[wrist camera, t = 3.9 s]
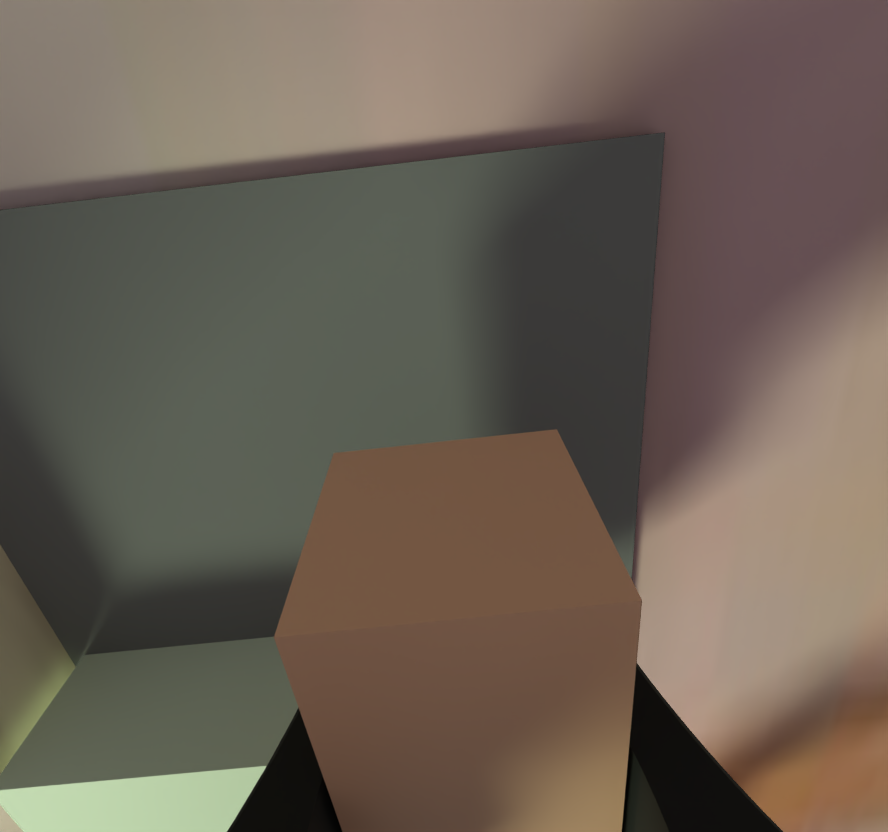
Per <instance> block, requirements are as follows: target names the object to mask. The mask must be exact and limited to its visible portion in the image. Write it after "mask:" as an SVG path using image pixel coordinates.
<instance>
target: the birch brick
mask: <svg viewBox="0 0 888 832" xmlns="http://www.w3.org/2000/svg"><path fill="white" fill-rule="evenodd" d="M74 669H75V665H74V663H73V662H72V660H71V658H70V657H69V655H68V654H67V652H66V650H65V649H64V647H63V645H62V644H61V642H60V641H59V639H58V637H57V636H56V634H55V633H54V631H53V629H52V628H51V626H50V624H49V623H48V621H47V620H46V618H45V616H44V615H43V613H42V611H41V610H40V608H39V607H38V605H37V603H36V602H35V600H34V598H33V597H32V595H31V594H30V592H29V590H28V589H27V587H26V586H25V584H24V582H23V581H22V579H21V577H20V576H19V574H18V573H17V571H16V569H15V568H14V566H13V564H12V563H11V561H10V560H9V558H8V556H7V555H6V553H5V551H4V550H3V548H2V547H1V545H0V774H1V773H2V771H3V770H4V768H5V767H6V765H7V764H8V763H9V761H10V760H11V758H12V757H13V755H14V754H15V753H16V751H17V750H18V748H19V747H20V746H21V744H22V743H23V741H24V740H25V738H26V737H27V736H28V734H29V733H30V731H31V730H32V728H33V727H34V726H35V724H36V723H37V721H38V720H39V719H40V717H41V716H42V714H43V713H44V711H45V710H46V709H47V707H48V706H49V704H50V703H51V702H52V700H53V699H54V697H55V696H56V694H57V693H58V692H59V690H60V689H61V687H62V686H63V684H64V683H65V682H66V680H67V679H68V677H69V676H70V675H71V673H72V672H73V670H74Z"/></svg>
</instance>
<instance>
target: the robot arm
mask: <svg viewBox="0 0 888 832" xmlns="http://www.w3.org/2000/svg"><path fill="white" fill-rule="evenodd" d="M227 832H342V829H341V826H340V823H339V820H338V818H337V815H336V812H335V809H334V806H333V804H332V801H331V798H330V795H329V792H328V789H327V787H326V784H325V781H324V778H323V775H322V772H321V770H320V767H319V764H318V761H317V758H316V755H315V753H314V750H313V747H312V744H311V741H310V738H309V736H308V733H307V730H306V727H305V724H304V721H303V719H302V716H301V713H300V710H299V707H298V709H297V711H296V713H295V715H294V717H293V719H292V721H291V723H290V724H289V726H288V728H287V730H286V732H285V734H284V735H283V737H282V739H281V741H280V743H279V745H278V747H277V748H276V750H275V752H274V754H273V756H272V757H271V759H270V761H269V763H268V765H267V766H266V768H265V770H264V771H263V773H262V775H261V776H260V778H259V780H258V781H257V783H256V785H255V786H254V788H253V790H252V791H251V793H250V795H249V796H248V798H247V800H246V801H245V803H244V805H243V806H242V808H241V810H240V811H239V813H238V815H237V816H236V818H235V820H234V821H233V823H232V824H231V826H230V827H229V829H228V831H227ZM622 832H783V831H782V830H781V829H780V828H779V827H778V826H777V825H776V824H775V823H774V822H773V821H772V820H771V819H770V818H769V817H768V816H767V815H766V814H765V813H764V812H763V811H762V810H761V809H760V808H759V806H758V805H757V804H756V803H755V802H754V801H753V800H752V799H751V798H750V797H749V796H748V795H747V794H746V793H745V792H744V791H743V789H742V788H741V787H740V786H739V785H738V784H737V783H736V782H735V781H734V780H733V779H732V778H731V776H730V775H729V774H728V773H727V772H726V771H725V770H724V769H723V767H722V766H721V765H720V764H719V763H718V762H717V761H716V760H715V758H714V757H713V756H712V755H711V754H710V753H709V752H708V751H707V750H706V748H705V747H704V746H703V745H702V744H701V743H700V741H699V740H698V739H697V738H696V737H695V736H694V734H693V733H692V732H691V731H690V730H689V728H688V727H687V726H686V725H685V724H684V722H683V721H682V720H681V719H680V717H679V716H678V715H677V714H676V713H675V711H674V710H673V709H672V708H671V706H670V705H669V704H668V703H667V702H666V700H665V699H664V698H663V697H662V695H661V694H660V693H659V692H658V690H657V689H656V688H655V686H654V685H653V684H652V683H651V681H650V680H649V679H648V677H647V676H646V675H645V673H644V672H643V671H642V669H641V668H640V667H639V665H638V664H637V663H636V674H635V686H634V697H633V708H632V720H631V731H630V743H629V754H628V765H627V777H626V788H625V799H624V811H623V822H622Z"/></svg>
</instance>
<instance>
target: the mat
mask: <svg viewBox="0 0 888 832" xmlns="http://www.w3.org/2000/svg"><path fill="white" fill-rule="evenodd" d="M664 138H665V132H664V133H656V134H647V135H639V136H630V137H622V138H613V139H604V140H596V141H587V142H579V143H570V144H562V145H553V146H544V147H536V148H527V149H519V150H510V151H502V152H493V153H485V154H476V155H467V156H459V157H450V158H442V159H433V160H425V161H416V162H407V163H399V164H390V165H382V166H373V167H365V168H356V169H347V170H339V171H330V172H322V173H313V174H305V175H296V176H287V177H279V178H270V179H262V180H253V181H245V182H236V183H227V184H219V185H210V186H202V187H193V188H185V189H176V190H167V191H159V192H150V193H142V194H133V195H125V196H116V197H107V198H99V199H90V200H82V201H73V202H65V203H56V204H47V205H39V206H30V207H22V208H13V209H5V210H0V545H1V547H2V548H3V550H4V551H5V553H6V555H7V556H8V558H9V560H10V561H11V563H12V564H13V566H14V568H15V569H16V571H17V573H18V574H19V576H20V577H21V579H22V581H23V582H24V584H25V586H26V587H27V589H28V590H29V592H30V594H31V595H32V597H33V598H34V600H35V602H36V603H37V605H38V607H39V608H40V610H41V611H42V613H43V615H44V616H45V618H46V620H47V621H48V623H49V624H50V626H51V628H52V629H53V631H54V633H55V634H56V636H57V637H58V639H59V641H60V642H61V644H62V645H63V647H64V649H65V650H66V652H67V654H68V655H69V657H70V658H71V660H72V662H73V663H74V665H75V668H76V666H77V665H78V664H79V662H80V661H81V659H82V658H83V656H84V655H90V654H100V653H110V652H121V651H131V650H141V649H152V648H162V647H172V646H183V645H193V644H203V643H213V642H224V641H234V640H244V639H255V638H265V637H274V635H275V632H276V629H277V626H278V623H279V620H280V617H281V614H282V611H283V608H284V605H285V601H286V598H287V595H288V592H289V589H290V586H291V583H292V580H293V577H294V574H295V571H296V568H297V565H298V561H299V558H300V555H301V552H302V549H303V546H304V543H305V540H306V537H307V534H308V531H309V528H310V524H311V521H312V518H313V515H314V512H315V509H316V506H317V503H318V500H319V497H320V494H321V491H322V487H323V484H324V481H325V478H326V475H327V472H328V469H329V466H330V463H331V460H332V457H333V454H334V453H339V452H348V451H358V450H367V449H376V448H386V447H395V446H405V445H414V444H423V443H433V442H442V441H451V440H461V439H470V438H480V437H489V436H498V435H508V434H517V433H526V432H536V431H545V430H555V429H557V431H558V433H559V435H560V437H561V439H562V441H563V443H564V445H565V447H566V449H567V451H568V453H569V455H570V457H571V459H572V461H573V463H574V465H575V467H576V469H577V471H578V473H579V475H580V477H581V479H582V481H583V483H584V485H585V487H586V489H587V491H588V493H589V495H590V497H591V499H592V501H593V503H594V505H595V507H596V509H597V511H598V513H599V515H600V517H601V519H602V521H603V523H604V525H605V527H606V529H607V531H608V533H609V535H610V537H611V539H612V541H613V543H614V545H615V547H616V549H617V551H618V553H619V555H620V557H621V559H622V561H623V563H624V565H625V567H626V569H627V571H628V573H629V575H630V577H631V579H632V566H633V553H634V539H635V526H636V512H637V499H638V486H639V472H640V459H641V445H642V432H643V419H644V405H645V392H646V379H647V365H648V352H649V338H650V325H651V312H652V298H653V285H654V271H655V258H656V245H657V231H658V218H659V205H660V191H661V178H662V164H663V151H664ZM73 671H74V670H73ZM68 678H69V677H68ZM66 681H67V680H66ZM63 685H64V684H63ZM61 688H62V687H61ZM59 691H60V690H59ZM56 695H57V694H56ZM54 698H55V697H54ZM49 705H50V704H49ZM47 708H48V707H47ZM44 712H45V711H44ZM42 715H43V714H42ZM40 718H41V717H40ZM37 722H38V721H37ZM35 725H36V724H35ZM32 729H33V728H32ZM30 732H31V731H30ZM28 735H29V734H28ZM25 739H26V738H25ZM23 742H24V741H23ZM21 745H22V744H21ZM18 749H19V748H18ZM16 752H17V751H16ZM13 756H14V755H13ZM11 759H12V758H11ZM9 762H10V761H9Z"/></svg>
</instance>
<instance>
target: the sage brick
mask: <svg viewBox="0 0 888 832" xmlns="http://www.w3.org/2000/svg"><path fill="white" fill-rule="evenodd" d="M297 709H298V705H297V702H296V699H295V696H294V693H293V690H292V688H291V685H290V682H289V679H288V676H287V673H286V671H285V668H284V665H283V662H282V659H281V656H280V654H279V651H278V648H277V645H276V642H275V639H274V637H265V638H255V639H244V640H234V641H224V642H213V643H203V644H193V645H183V646H172V647H162V648H152V649H141V650H131V651H121V652H110V653H100V654H90V655H84V656H83V658H82V659H81V661H80V662H79V664H78V665H77V666H76V668H75V669H74V671H73V672H72V673H71V675H70V676H69V678H68V679H67V681H66V682H65V683H64V685H63V686H62V688H61V689H60V691H59V692H58V693H57V695H56V696H55V698H54V699H53V700H52V702H51V703H50V705H49V706H48V708H47V709H46V710H45V712H44V713H43V715H42V716H41V718H40V719H39V720H38V722H37V723H36V725H35V726H34V727H33V729H32V730H31V732H30V733H29V735H28V736H27V737H26V739H25V740H24V742H23V743H22V745H21V746H20V747H19V749H18V750H17V752H16V753H15V754H14V756H13V757H12V759H11V760H10V762H9V763H8V764H7V766H6V767H5V769H4V770H3V772H2V773H1V774H0V805H1V806H2V807H3V809H4V810H5V811H6V812H7V813H8V814H9V815H10V817H11V818H12V819H13V820H14V821H15V822H16V824H17V825H18V826H19V827H20V828H21V829H22V831H23V832H227V831H228V829H229V827H230V826H231V824H232V823H233V821H234V820H235V818H236V816H237V815H238V813H239V811H240V810H241V808H242V806H243V805H244V803H245V801H246V800H247V798H248V796H249V795H250V793H251V791H252V790H253V788H254V786H255V785H256V783H257V781H258V780H259V778H260V776H261V775H262V773H263V771H264V770H265V768H266V766H267V765H268V763H269V761H270V759H271V757H272V756H273V754H274V752H275V750H276V748H277V747H278V745H279V743H280V741H281V739H282V737H283V735H284V734H285V732H286V730H287V728H288V726H289V724H290V723H291V721H292V719H293V717H294V715H295V713H296V711H297Z"/></svg>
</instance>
